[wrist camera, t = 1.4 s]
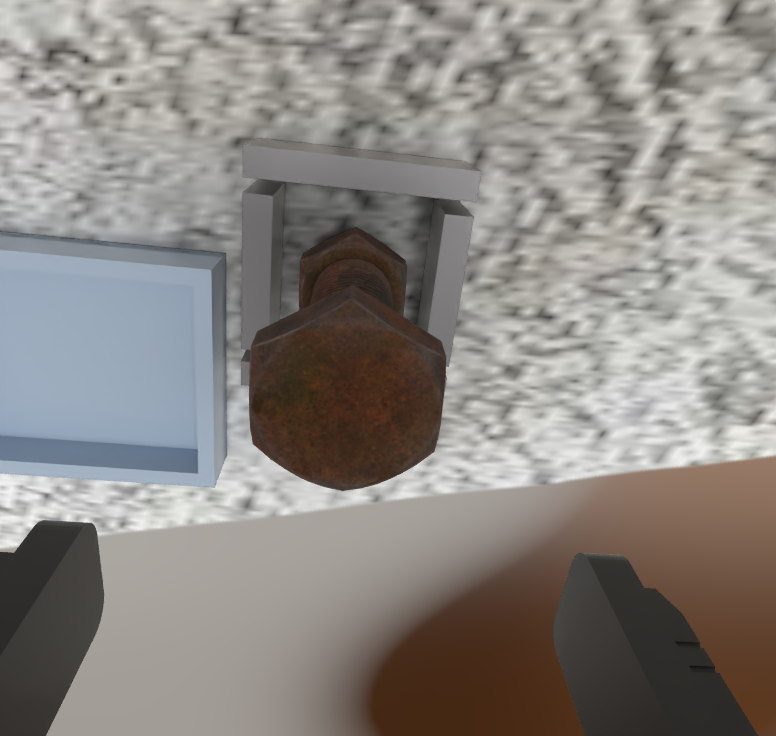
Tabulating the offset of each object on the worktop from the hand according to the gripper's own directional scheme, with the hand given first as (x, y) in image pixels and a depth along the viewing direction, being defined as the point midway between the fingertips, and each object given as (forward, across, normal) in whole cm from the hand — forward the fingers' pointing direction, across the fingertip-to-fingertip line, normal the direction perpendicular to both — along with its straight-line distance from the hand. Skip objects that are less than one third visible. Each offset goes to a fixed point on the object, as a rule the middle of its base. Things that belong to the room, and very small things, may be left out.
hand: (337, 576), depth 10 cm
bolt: (+21, 0, 0) cm, 21 cm away
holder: (+21, 0, 0) cm, 21 cm away
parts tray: (+21, +13, +6) cm, 25 cm away
